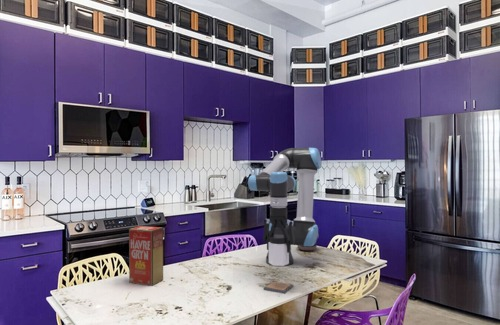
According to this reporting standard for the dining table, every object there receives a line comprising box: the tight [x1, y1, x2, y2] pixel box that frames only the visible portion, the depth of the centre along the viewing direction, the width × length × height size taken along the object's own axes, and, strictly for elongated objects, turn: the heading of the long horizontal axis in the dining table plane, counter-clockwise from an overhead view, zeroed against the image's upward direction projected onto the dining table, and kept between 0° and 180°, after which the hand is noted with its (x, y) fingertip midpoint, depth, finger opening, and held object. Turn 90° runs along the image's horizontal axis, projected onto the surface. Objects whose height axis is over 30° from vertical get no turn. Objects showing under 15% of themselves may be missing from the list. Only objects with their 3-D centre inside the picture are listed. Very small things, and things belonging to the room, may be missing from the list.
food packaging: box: [128, 225, 164, 287], centre depth 167 cm, size 13×9×25 cm
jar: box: [269, 235, 289, 267], centre depth 158 cm, size 9×8×12 cm
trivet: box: [263, 281, 294, 294], centre depth 158 cm, size 10×10×1 cm
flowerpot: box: [297, 221, 319, 252], centre depth 228 cm, size 14×15×20 cm
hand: (278, 258), depth 158 cm, fingers closed on jar, 7 cm apart
